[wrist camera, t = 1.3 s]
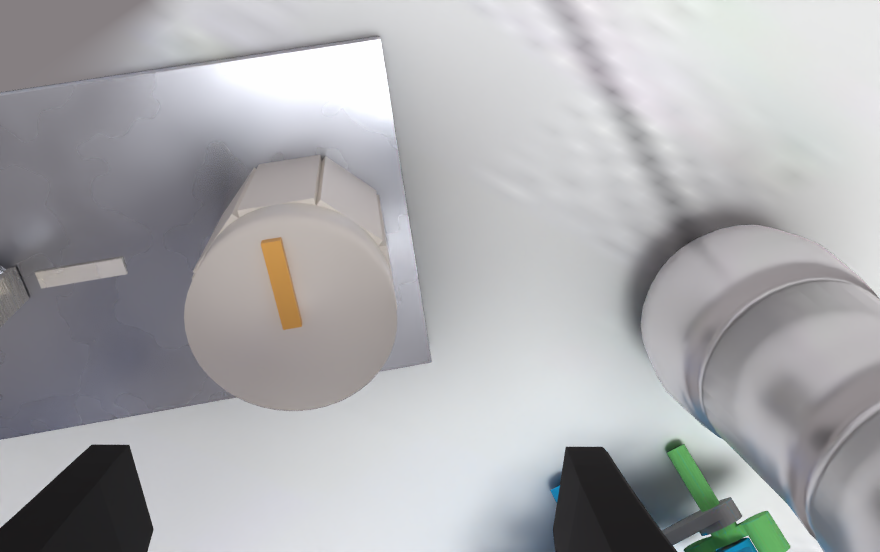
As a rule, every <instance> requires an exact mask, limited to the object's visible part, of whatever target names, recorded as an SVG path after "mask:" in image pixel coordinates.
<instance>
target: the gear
mask: <svg viewBox="0 0 880 552" xmlns="http://www.w3.org/2000/svg"><path fill="white" fill-rule="evenodd" d="M667 454H668V456H669V458H670V459H671V461H672V463H673V465H674V466H675V468H676V470H677V471H678V473H679V475H680V476H681V478H682V480H683V481H684V483H685V485H686V486H687V488H688V490H689V491H690V493H691V495H692V496H693V498H694V500H695V501H696V503H697V505H698V507H699V508H700V511H698V512H696V513H694V514H692V515H691V516H689V517H687V518H685V519H683V520H681V521H679V522H677V523H675V524H674V525H672V526H670V527H668V528H666V529H664V530H662V532H663V534H664V535H665V536H666V538H667V539H668V540H669V542H670V543H671V544H672V545H674V544H676V543H678V542H680V541H682V540H684V539H685V538H687V537H689V536H691V535H693V534H695V533H697V532H698V531H699V532H700V534H701V536H705V535H708V534H711V536H710V537H707V538H704V539H701V540H699V541H696V542H694V543H692V544H691V545H689V546H687V547H686V548H685V549H684V551H685V552H757V550H758V552H786V551H787V550H788V549H790V545H789V543H788V542H787V540H786V539H785V537H784V536H783V534H782V532H781V531H780V529H779V528H778V526H777V524H776V523H775V521H774V520H773V518H772V517H771V515H770V513H769V512H768V511H764V512H761V513H758V514H756V515H754V516H752V517H750V518H748V519H746V520H745V521H743V522H741V523H739V524H737V523H736V521H737V520H739V519H740V518H741V517H742V515H741V513H740V511H739V510H738V508H737V507H736V505H735V503H734V502H733V500H732V498H731V497H729V498H726V499H723V500H720V501H718V499H717V498H716V496H715V494H714V493H713V491H712V489H711V488H710V486H709V484H708V483H707V481H706V480H705V478H704V476H703V475H702V473H701V471H700V470H699V468H698V466H697V465H696V463H695V461H694V460H693V458H692V456H691V455H690V453H689V452H688V450H687V448H686V447H685V445H684V444H683V445H681V446H679V447H677V448H675V449H673V450H671V451H669V452H668V453H667ZM559 488H560V485H559V486H557V487H556V488H554V489H552V490H550V491H551V493H552V495H553V497H554V499H555V501H556V503H557V501H558V494H559ZM748 535H749V537H750V539H751V540H752V542H753V544H754V545H755V547H756V549H757V550H756V549H755V547H754V545H753V544H752V542H751V541H750V539H749V538H743V537H746V536H748ZM741 538H742V539H741Z"/></svg>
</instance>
